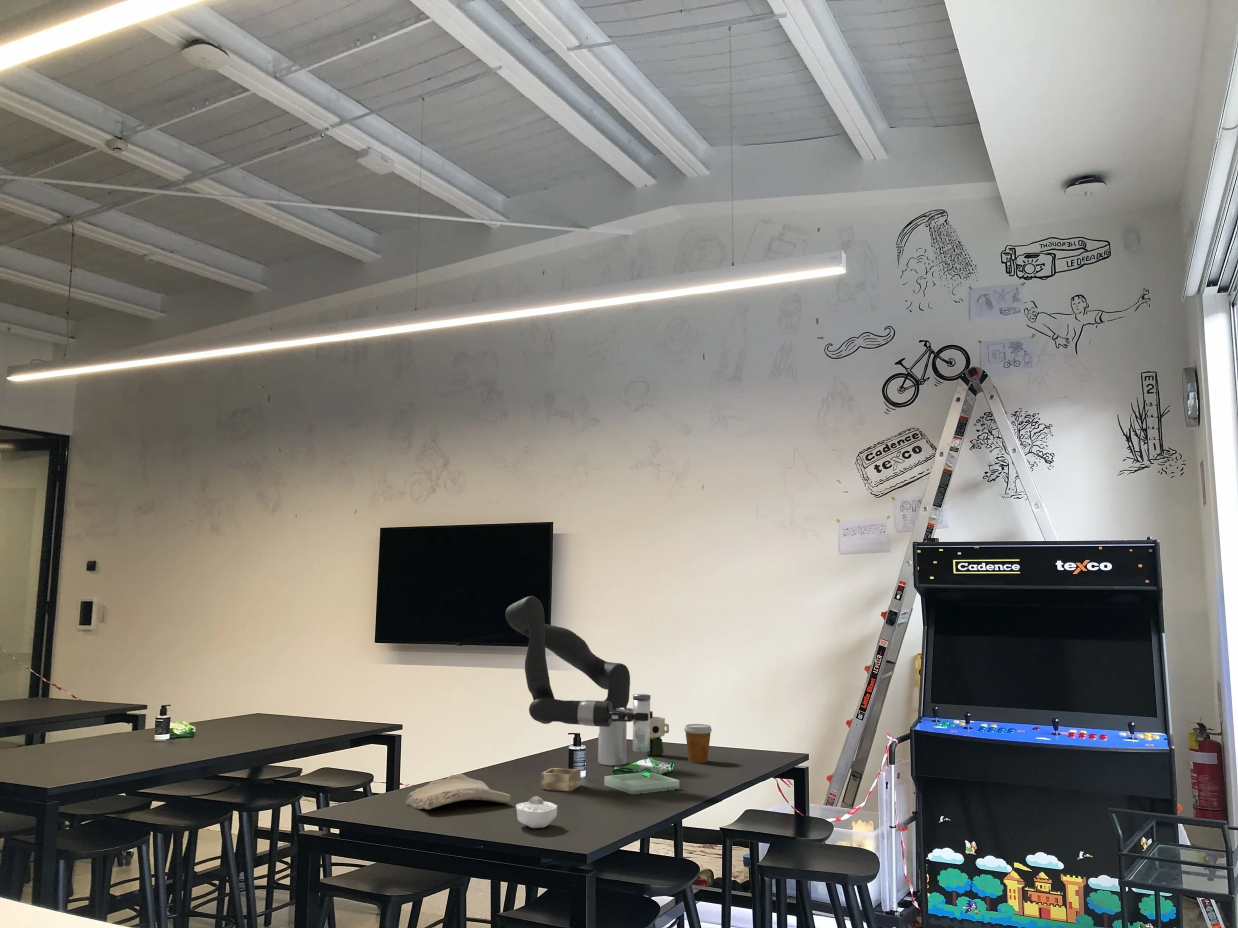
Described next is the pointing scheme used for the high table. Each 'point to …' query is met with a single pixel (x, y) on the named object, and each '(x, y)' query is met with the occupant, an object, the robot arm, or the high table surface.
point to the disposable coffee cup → (698, 742)
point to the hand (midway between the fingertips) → (650, 715)
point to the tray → (641, 783)
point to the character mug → (657, 735)
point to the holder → (560, 779)
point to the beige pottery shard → (453, 792)
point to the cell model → (536, 812)
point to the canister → (641, 723)
